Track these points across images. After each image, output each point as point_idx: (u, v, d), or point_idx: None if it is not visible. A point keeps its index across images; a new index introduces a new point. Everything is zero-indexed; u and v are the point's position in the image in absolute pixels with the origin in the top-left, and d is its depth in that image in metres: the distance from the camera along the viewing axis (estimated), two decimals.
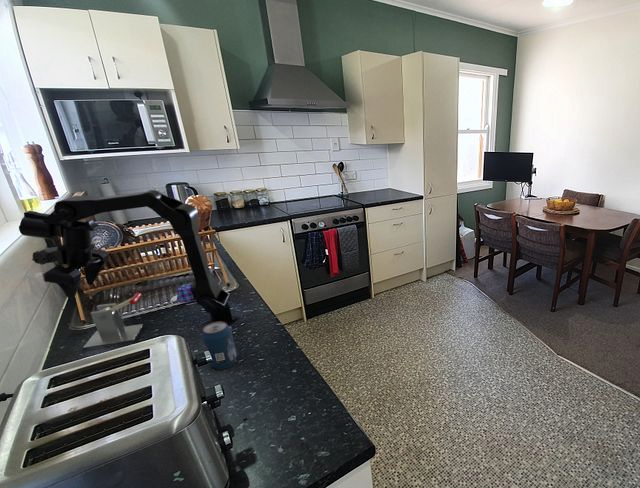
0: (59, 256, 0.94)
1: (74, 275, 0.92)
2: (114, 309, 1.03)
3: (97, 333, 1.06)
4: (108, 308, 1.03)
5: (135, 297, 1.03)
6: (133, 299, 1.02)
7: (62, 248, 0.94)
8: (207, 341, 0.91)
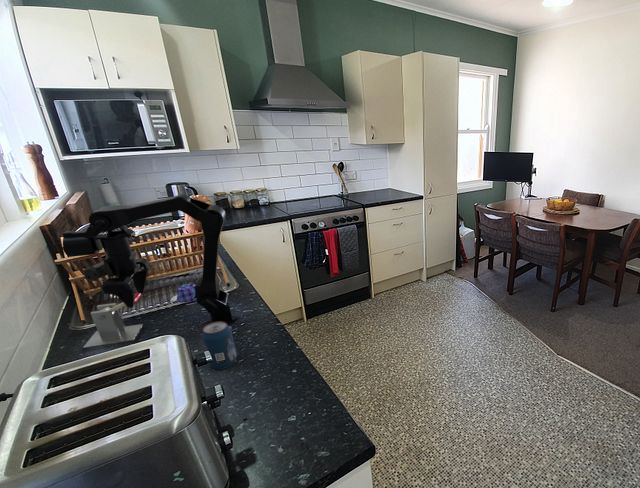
0: (108, 269, 0.96)
1: (128, 282, 0.95)
2: (114, 309, 1.03)
3: (97, 333, 1.06)
4: (108, 308, 1.03)
5: (135, 297, 1.03)
6: None
7: (108, 260, 0.96)
8: (207, 341, 0.91)
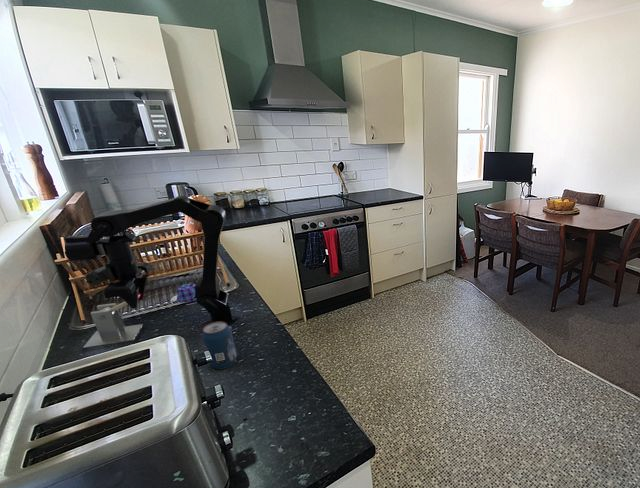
0: (109, 273, 0.97)
1: (130, 286, 0.95)
2: (114, 309, 1.03)
3: (97, 333, 1.06)
4: (108, 308, 1.03)
5: None
6: None
7: (110, 265, 0.96)
8: (207, 341, 0.91)
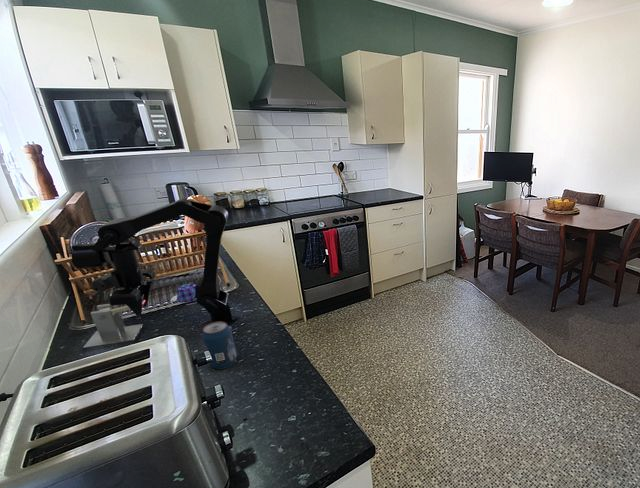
0: (115, 280, 0.98)
1: (135, 294, 0.97)
2: (116, 311, 1.03)
3: (97, 333, 1.06)
4: None
5: None
6: None
7: (115, 272, 0.98)
8: (207, 341, 0.91)
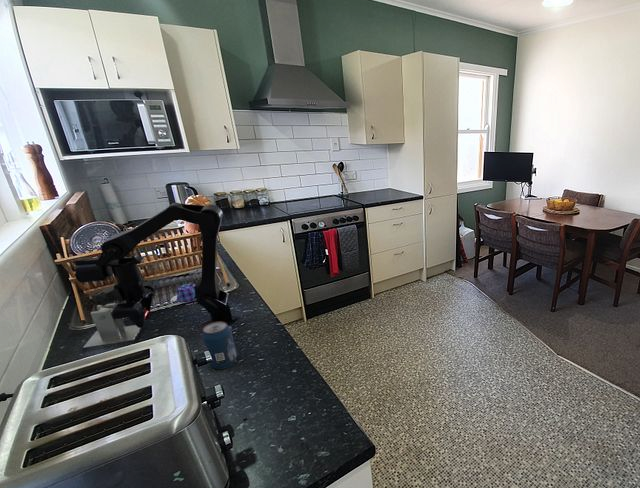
0: (117, 294, 1.00)
1: (137, 307, 0.98)
2: None
3: (97, 333, 1.06)
4: None
5: (145, 315, 1.06)
6: None
7: (118, 286, 0.99)
8: (207, 341, 0.91)
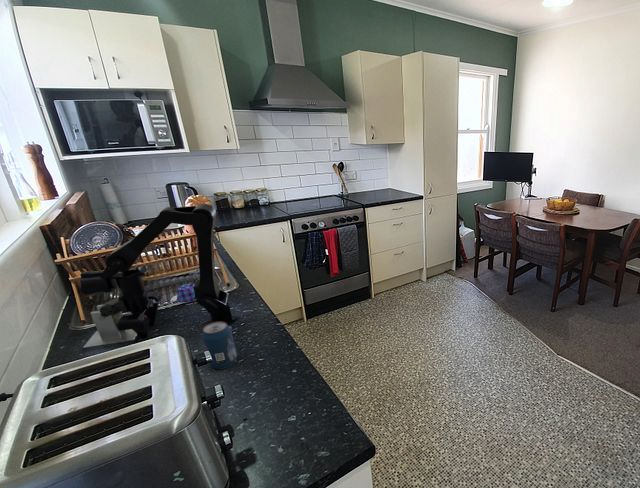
0: (122, 306, 1.01)
1: (142, 319, 1.00)
2: (116, 317, 1.04)
3: (97, 333, 1.06)
4: None
5: None
6: None
7: (122, 298, 1.01)
8: (207, 341, 0.91)
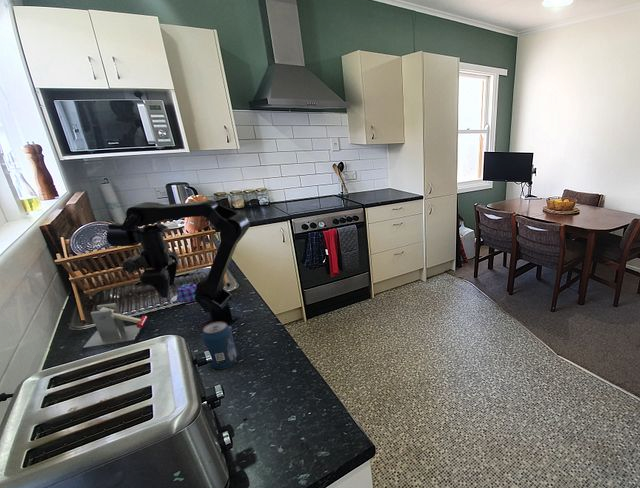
0: (144, 261, 1.02)
1: (164, 273, 1.01)
2: (116, 317, 1.04)
3: (97, 333, 1.06)
4: (112, 311, 1.04)
5: (143, 322, 1.07)
6: (142, 324, 1.06)
7: (144, 253, 1.02)
8: (207, 341, 0.91)
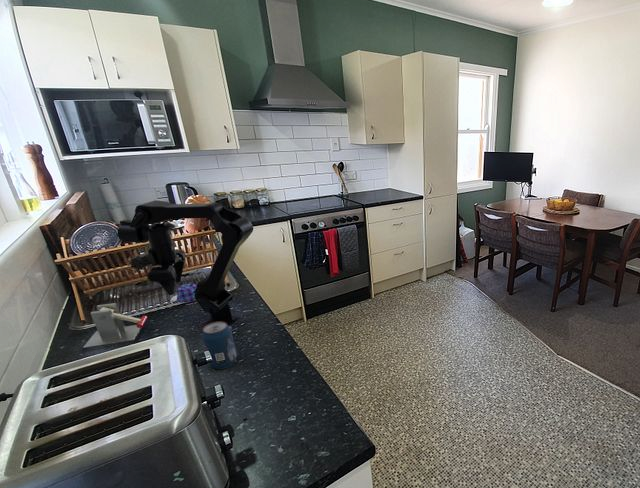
0: (151, 258, 1.04)
1: (171, 270, 1.02)
2: (116, 317, 1.04)
3: (97, 333, 1.06)
4: (112, 311, 1.04)
5: (143, 322, 1.07)
6: (142, 324, 1.06)
7: (152, 250, 1.03)
8: (207, 341, 0.91)
